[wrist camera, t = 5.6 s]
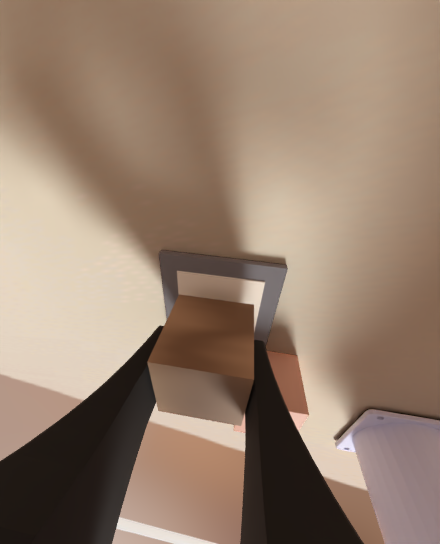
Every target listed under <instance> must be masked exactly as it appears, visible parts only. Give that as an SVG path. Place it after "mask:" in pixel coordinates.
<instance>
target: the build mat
mask: <svg viewBox="0 0 440 544" xmlns="http://www.w3.org/2000/svg"><path fill="white" fill-rule="evenodd" d="M159 259H160V267H161V276H162V284H163V292H164V300H165V309H166V317H167V319H168V317H169V315H170V313H171V310H172V308H173V306H174V304H175V302H176V300H177V298H178V296H179V294H180V295H187V296H194V297H202V298H209V299H216V300H223V301H231V302H238V303H245V304H253V305H254V340H261V341H264V342H265V346H266V344H267V340H268V336H269V333H270V329H271V326H272V322H273V319H274V315H275V312H276V308H277V305H278V301H279V297H280V294H281V290H282V287H283V283H284V280H285V276H286V273H287V269H288V268H287V265H284V264H275V263H267V262H258V261H250V260H241V259H233V258H224V257H216V256H207V255H199V254H191V253H182V252H174V251H165V250H161V251H160V253H159Z"/></svg>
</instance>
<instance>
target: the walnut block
mask: <svg viewBox="0 0 440 544" xmlns="http://www.w3.org/2000/svg"><path fill="white" fill-rule="evenodd" d="M147 363H148V368H149V372H150V376H151V381H152V385H153V389H154V394H155V398H156V402H157V407H158V411H162V412H168V413H173V414H178V415H184V416H189V417H195V418H200V419H205V420H211V421H216V422H222V423H227V424H233V425H238V426H241V425H242V421H243V418H244V414H245V410H246V407H247V403H248V400H249V396H250V392H251V389H252V385H253V381H254V305H253V304H245V303H238V302H231V301H223V300H216V299H209V298H202V297H194V296H187V295H180V294H179V296H178V298H177V300H176V302H175V304H174V306H173V308H172V310H171V313H170V315H169V317H168V319H167V321H166V323H165V325H164V327H163V330H162V332H161V334H160V336H159V338H158V340H157V342H156V344H155V347H154V349H153V351H152V353H151V355H150V357H149V359H148V361H147Z"/></svg>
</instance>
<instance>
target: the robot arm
mask: <svg viewBox="0 0 440 544" xmlns="http://www.w3.org/2000/svg"><path fill="white" fill-rule="evenodd" d="M163 327H164V326H159V327H158V328H157V329H156V330H155V331H154V333H153V334H152V335H151V336H150V337H149V338H148V339H147V341H146V342H145V343H144V344H143V345H142V346H141V347H140V348H139V349H138V350H137V351H136V353H135V354H134V355H133V356H132V357H131V358H130V359H129V360H128V361H127V362H126V363H125V364H124V365H123V366H122V367H121V368H120V369H119V370H118V371H117V372H116V373H115V374H114V375H112V376H111V377H110V378H109V379H108V380H107V381H106V382H105V383H104V384H103V385H102V386H101V387H99V388H98V389H97V390H96V391H95V392H94V393H92V394H91V395H90V396H89V397H88V398H87V399H85V400H84V401H83V402H82V403H80V404H79V405H78V406H77V407H76V408H74V409H73V410H72V411H70V412H69V413H68V414H67V415H65V416H64V417H63V418H61V419H60V420H59V421H57V422H56V423H55V424H53V425H52V426H51V427H49V428H48V429H46V430H45V431H44V432H42V433H41V434H39V435H38V436H37V437H35V438H34V439H33V440H31V441H30V442H28V443H27V444H25V445H24V446H23V447H21V448H20V449H18V450H17V451H15V452H14V453H12V454H11V455H9V456H8V457H6V458H5V459H3V460H1V461H0V544H112V541H113V537H114V533H115V530H116V526H117V523H118V519H119V515H120V512H121V508H122V505H123V501H124V497H125V494H126V491H127V487H128V484H129V480H130V477H131V474H132V470H133V467H134V464H135V461H136V457H137V454H138V451H139V448H140V445H141V441H142V438H143V435H144V432H145V429H146V426H147V424H148V421H149V418H150V416H151V413H152V411H153V408H154V406H155V404H156V398H155V394H154V389H153V385H152V381H151V376H150V372H149V368H148V363H147V361H148V359H149V357H150V355H151V353H152V351H153V349H154V347H155V344H156V342H157V340H158V338H159V336H160V334H161V332H162V330H163ZM245 433H246V448H245V470H244V490H243V491H244V492H243V508H242V509H243V510H242V526H241V543H240V544H364V543H363V542H362V540H361V539H360V537H359V536H358V534H357V532H356V531H355V529H354V528H353V526H352V525H351V523H350V521H349V520H348V518H347V517H346V515H345V513H344V512H343V510H342V508H341V507H340V505H339V503H338V502H337V500H336V499H335V497H334V495H333V494H332V492H331V490H330V488H329V487H328V485H327V483H326V481H325V480H324V478H323V476H322V474H321V473H320V471H319V469H318V467H317V466H316V464H315V462H314V460H313V459H312V457H311V455H310V453H309V451H308V449H307V447H306V445H305V443H304V442H303V440H302V438H301V436H300V434H299V432H298V430H297V428H296V426H295V423H294V421H293V419H292V417H291V415H290V413H289V410H288V408H287V406H286V404H285V401H284V399H283V397H282V394H281V392H280V389H279V386H278V384H277V381H276V379H275V376H274V373H273V370H272V367H271V364H270V361H269V358H268V354H267V350H266V346H265V342H264V341H261V340H254V381H253V385H252V389H251V392H250V396H249V400H248V403H247V407H246V410H245ZM335 445H336V448H337V449H340V450H345V451H351V452H356V455H357V458H358V461H359V464H360V467H361V470H362V473H363V476H364V480H365V483H366V486H367V489H368V492H369V495H370V498H371V501H372V505H373V507H374V511H375V514H376V517H377V520H378V523H379V527H380V530H381V533H382V536H383V539H384V542H385V544H440V420H434V419H428V418H422V417H416V416H410V415H404V414H399V413H393V412H387V411H381V410H375V409H369V410H367V411H366V412H365V413H364V414H363V415H362V416H361V417H360V418H359V419H358V420H357V421H356V422H355V423H354V424H353V425H352V426H351V427H350V428H349V429H348V430H347V431H346V432H345V433H344V434H343V435H342V436H341V437H340V438H339V439H338V440H337V441H336V442H335Z"/></svg>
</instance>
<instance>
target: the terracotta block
mask: <svg viewBox="0 0 440 544" xmlns="http://www.w3.org/2000/svg"><path fill="white" fill-rule="evenodd" d="M267 354H268V358H269V361H270V364H271V367H272V370H273V373H274V376H275V379H276V381H277V384H278V386H279V389H280V392H281V394H282V397H283V399H284V401H285V404H286V406H287V408H288V410H289V413H290V415H291V417H292V419H293V421H294V423H295V426H296V428H297V430H298V431H299V430H300V428H301V427H302V425H303V424H304V422H305V420H306V419H307V417H308V416H309V412H308V407H307V402H306V397H305V392H304V387H303V382H302V377H301V372H300V367H299V362H298V357H297V355H291V354H284V353H277V352H271V351H267ZM234 431H238V432H243V433H245V414H244V418H243V421H242V425H241V426H238V425H234Z"/></svg>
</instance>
